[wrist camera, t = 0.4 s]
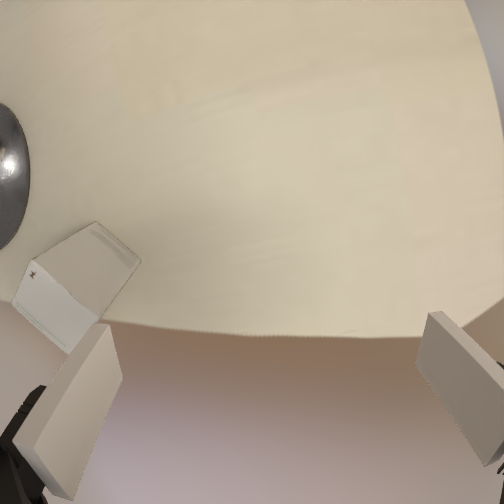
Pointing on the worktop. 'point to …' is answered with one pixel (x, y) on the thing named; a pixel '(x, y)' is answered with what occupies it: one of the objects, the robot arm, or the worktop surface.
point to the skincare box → (74, 284)
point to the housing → (12, 175)
